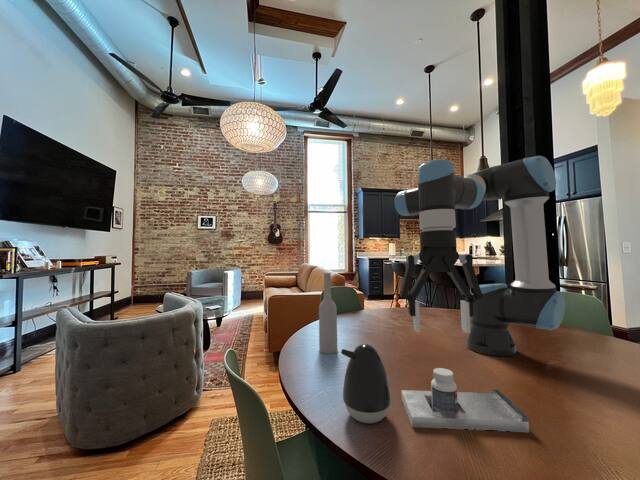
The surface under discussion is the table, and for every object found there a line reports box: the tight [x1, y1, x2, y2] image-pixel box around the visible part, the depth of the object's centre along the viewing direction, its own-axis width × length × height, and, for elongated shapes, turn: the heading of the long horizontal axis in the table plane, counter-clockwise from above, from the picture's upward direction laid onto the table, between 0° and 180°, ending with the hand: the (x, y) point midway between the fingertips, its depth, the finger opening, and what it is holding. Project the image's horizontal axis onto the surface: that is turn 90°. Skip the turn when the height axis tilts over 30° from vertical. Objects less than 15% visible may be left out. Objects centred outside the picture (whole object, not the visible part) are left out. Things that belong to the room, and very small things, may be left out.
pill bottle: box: [430, 367, 459, 413], centre depth 61 cm, size 5×5×9 cm
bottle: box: [318, 272, 338, 355], centre depth 101 cm, size 7×7×28 cm
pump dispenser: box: [340, 343, 392, 424], centre depth 60 cm, size 10×10×15 cm
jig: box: [401, 389, 530, 434], centre depth 60 cm, size 22×11×3 cm, turn 84°
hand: (441, 331), depth 61 cm, fingers open, 10 cm apart
